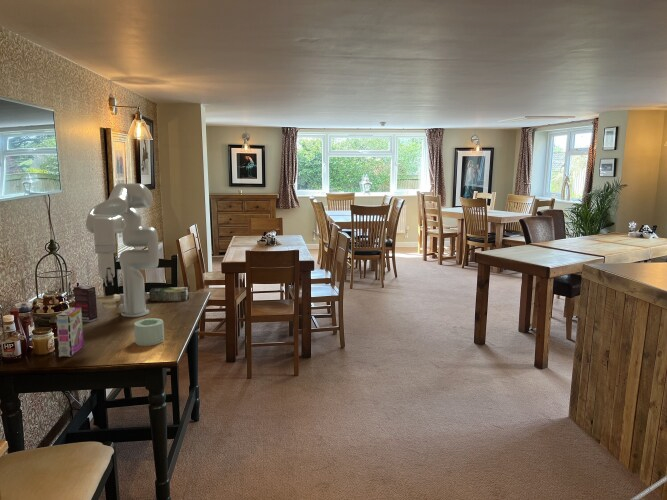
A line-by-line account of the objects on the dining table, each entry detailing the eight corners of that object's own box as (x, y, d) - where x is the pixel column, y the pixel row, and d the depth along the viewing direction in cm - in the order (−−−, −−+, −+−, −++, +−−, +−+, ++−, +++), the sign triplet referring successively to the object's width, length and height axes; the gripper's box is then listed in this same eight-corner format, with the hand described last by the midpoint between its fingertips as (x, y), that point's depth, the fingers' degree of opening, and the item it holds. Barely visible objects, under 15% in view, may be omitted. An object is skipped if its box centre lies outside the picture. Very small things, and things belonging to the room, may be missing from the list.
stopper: (96, 306, 193) (95, 286, 192) (119, 303, 198) (118, 283, 196) (99, 311, 186) (97, 290, 185) (122, 308, 191) (121, 288, 189)
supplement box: (98, 319, 226) (95, 286, 223) (90, 322, 221) (87, 289, 219) (83, 317, 229) (81, 285, 226) (75, 320, 224) (72, 287, 222)
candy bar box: (72, 357, 181) (69, 315, 178) (58, 357, 181) (54, 315, 178) (85, 346, 192) (81, 306, 189) (71, 346, 192) (68, 306, 189)
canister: (129, 344, 195) (128, 325, 194) (146, 335, 206) (145, 317, 204) (153, 347, 192) (152, 327, 191) (169, 337, 203) (168, 319, 202)
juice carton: (189, 295, 270) (189, 285, 269) (189, 300, 261) (188, 289, 260) (151, 298, 265) (151, 287, 264) (149, 303, 256) (148, 292, 255)
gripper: (92, 246, 193) (95, 290, 196) (97, 252, 179) (101, 300, 182) (112, 244, 197) (115, 288, 200) (119, 251, 183) (122, 297, 186)
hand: (108, 293), depth 191 cm, fingers closed on stopper, 4 cm apart
